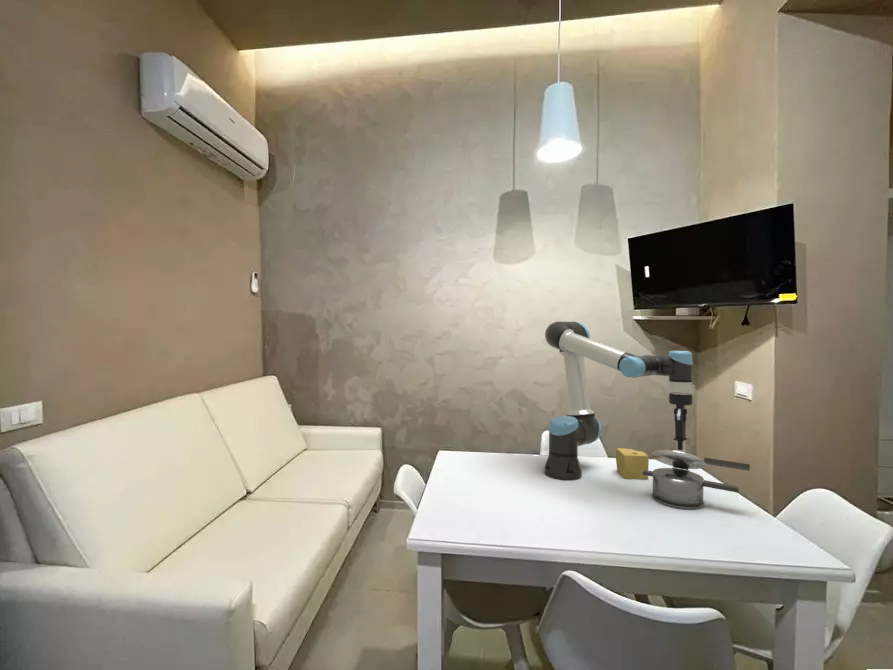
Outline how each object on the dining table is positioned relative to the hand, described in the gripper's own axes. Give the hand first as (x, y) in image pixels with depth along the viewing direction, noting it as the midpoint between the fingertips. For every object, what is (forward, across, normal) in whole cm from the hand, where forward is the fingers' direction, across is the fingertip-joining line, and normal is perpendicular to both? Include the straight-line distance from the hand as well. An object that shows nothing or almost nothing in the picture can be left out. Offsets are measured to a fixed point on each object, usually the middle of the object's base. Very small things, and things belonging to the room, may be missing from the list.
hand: (680, 458), depth 157 cm
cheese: (+14, +16, +20) cm, 29 cm away
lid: (+1, -2, -6) cm, 6 cm away
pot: (+14, -3, -3) cm, 15 cm away
